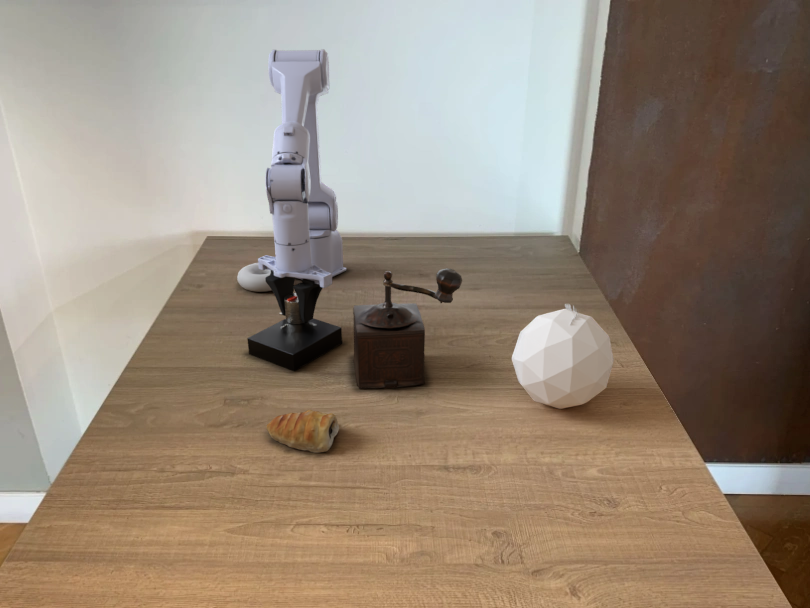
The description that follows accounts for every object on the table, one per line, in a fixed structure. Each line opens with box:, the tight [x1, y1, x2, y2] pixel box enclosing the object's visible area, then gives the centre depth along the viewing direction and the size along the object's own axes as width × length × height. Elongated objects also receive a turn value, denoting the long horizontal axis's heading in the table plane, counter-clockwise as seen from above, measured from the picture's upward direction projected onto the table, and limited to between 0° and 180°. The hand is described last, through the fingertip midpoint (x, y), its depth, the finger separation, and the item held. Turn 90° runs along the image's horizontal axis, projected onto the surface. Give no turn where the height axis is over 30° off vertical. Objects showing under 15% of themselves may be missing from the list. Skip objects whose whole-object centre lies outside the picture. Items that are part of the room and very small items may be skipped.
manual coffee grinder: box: [352, 268, 463, 390], centre depth 112 cm, size 16×11×18 cm
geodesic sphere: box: [511, 303, 615, 410], centre depth 105 cm, size 15×14×14 cm
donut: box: [236, 262, 273, 293], centre depth 147 cm, size 10×4×10 cm
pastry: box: [266, 409, 340, 454], centre depth 99 cm, size 9×7×4 cm
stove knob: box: [284, 292, 305, 324], centre depth 125 cm, size 4×4×4 cm
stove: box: [246, 312, 343, 372], centre depth 124 cm, size 14×12×3 cm
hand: (297, 316), depth 126 cm, fingers closed on stove knob, 4 cm apart
